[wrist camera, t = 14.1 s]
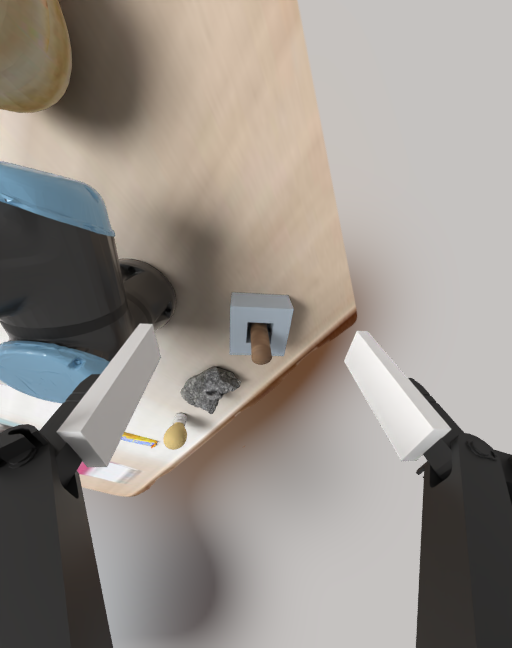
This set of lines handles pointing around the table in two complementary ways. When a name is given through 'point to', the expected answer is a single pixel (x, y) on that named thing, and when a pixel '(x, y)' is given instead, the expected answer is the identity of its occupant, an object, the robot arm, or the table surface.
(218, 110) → the table surface
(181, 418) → the light bulb
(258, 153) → the table surface
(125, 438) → the candy bar
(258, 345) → the peg
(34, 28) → the decorative ball
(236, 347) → the socket
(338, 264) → the table surface
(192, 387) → the rock
